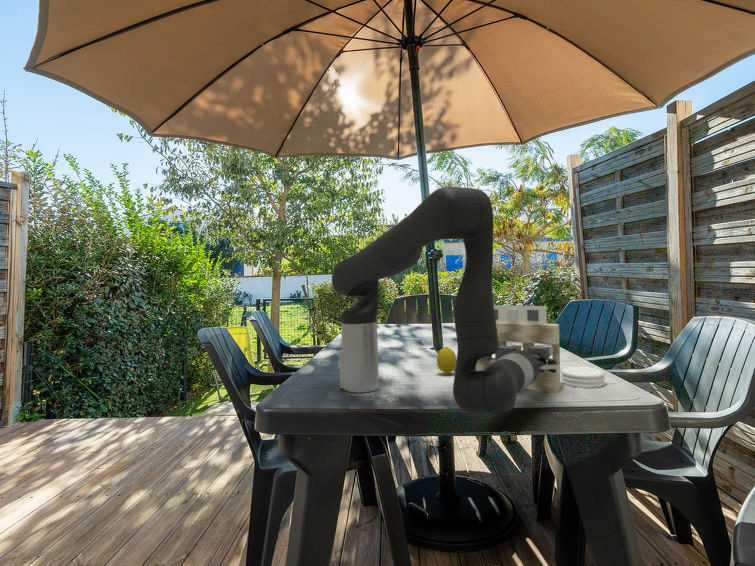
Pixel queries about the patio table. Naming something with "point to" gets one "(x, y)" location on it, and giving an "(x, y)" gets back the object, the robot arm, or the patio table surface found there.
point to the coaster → (583, 377)
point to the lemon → (446, 360)
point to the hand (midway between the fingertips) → (537, 357)
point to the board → (528, 337)
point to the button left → (486, 358)
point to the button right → (541, 350)
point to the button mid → (506, 350)
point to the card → (521, 314)
